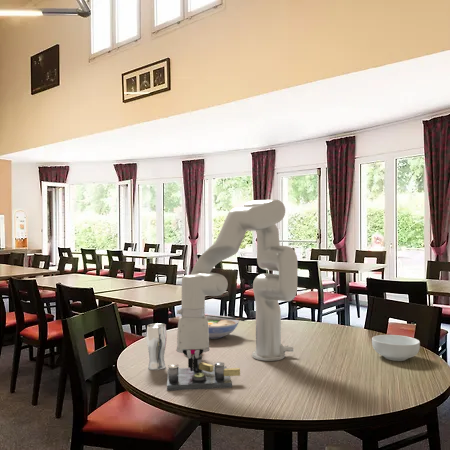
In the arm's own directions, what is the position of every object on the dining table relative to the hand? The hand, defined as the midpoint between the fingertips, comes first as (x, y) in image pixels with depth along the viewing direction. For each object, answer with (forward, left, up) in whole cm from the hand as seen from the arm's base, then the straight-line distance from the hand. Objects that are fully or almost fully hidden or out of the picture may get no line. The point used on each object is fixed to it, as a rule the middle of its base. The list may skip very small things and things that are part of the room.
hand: (192, 369), depth 146 cm
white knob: (+6, +1, -2) cm, 7 cm away
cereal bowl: (-77, -15, -4) cm, 78 cm away
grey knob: (-11, +4, -2) cm, 11 cm away
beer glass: (+12, -15, -4) cm, 20 cm away
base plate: (-2, 0, -4) cm, 4 cm away
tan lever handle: (-3, -4, -2) cm, 5 cm away
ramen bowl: (-12, -56, -4) cm, 58 cm away
